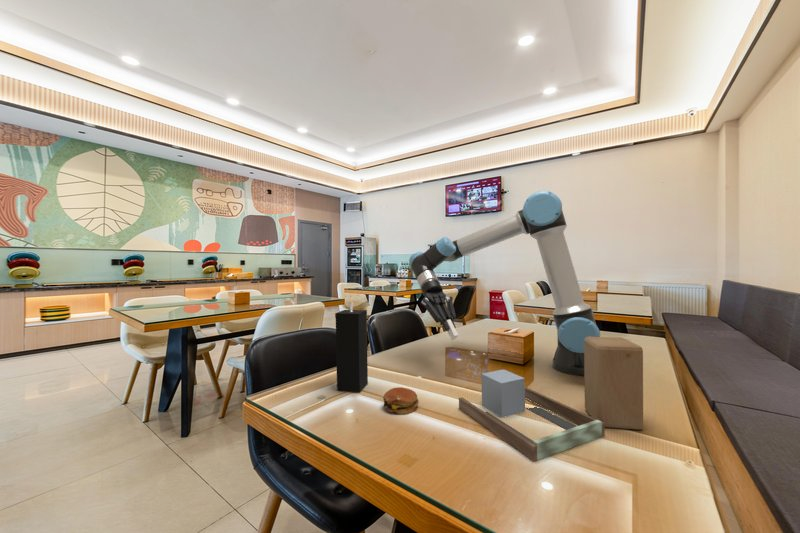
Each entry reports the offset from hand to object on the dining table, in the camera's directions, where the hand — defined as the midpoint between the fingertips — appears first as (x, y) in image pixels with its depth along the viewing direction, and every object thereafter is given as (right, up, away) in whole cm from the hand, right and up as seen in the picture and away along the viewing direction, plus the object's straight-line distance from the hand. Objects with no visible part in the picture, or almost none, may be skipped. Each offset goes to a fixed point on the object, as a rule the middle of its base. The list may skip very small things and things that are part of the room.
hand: (454, 337), depth 109 cm
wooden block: (+35, -15, -28) cm, 47 cm away
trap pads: (+13, -15, -28) cm, 34 cm away
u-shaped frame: (+13, -15, -28) cm, 34 cm away
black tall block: (-34, -16, -4) cm, 38 cm away
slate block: (+10, -15, -20) cm, 27 cm away
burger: (-18, -16, -19) cm, 30 cm away
